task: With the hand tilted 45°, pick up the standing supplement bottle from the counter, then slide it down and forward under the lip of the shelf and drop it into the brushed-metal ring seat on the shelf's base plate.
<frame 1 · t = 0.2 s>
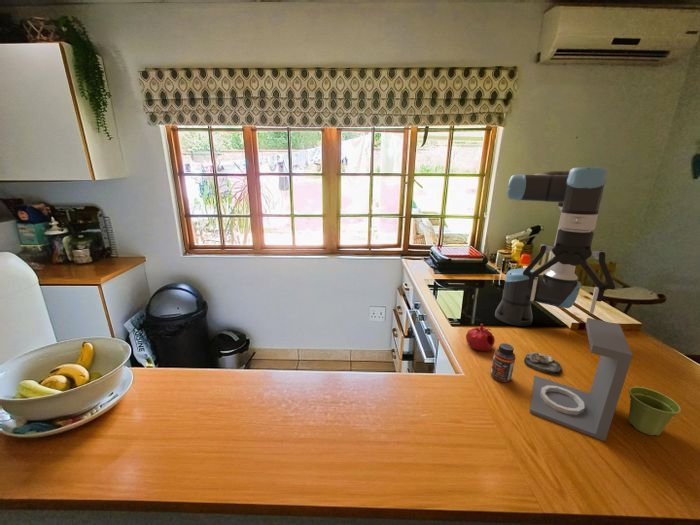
hand: (560, 305, 83), 28 cm above the counter, tool pointing down, fingers open, 13 cm apart
plant pot: (643, 427, 78), on the counter
pomegranate: (478, 347, 113), on the counter
seat stand: (564, 405, 84), on the counter
dark grey oval piece: (542, 366, 103), on the counter
supplement bottle: (500, 377, 96), on the counter
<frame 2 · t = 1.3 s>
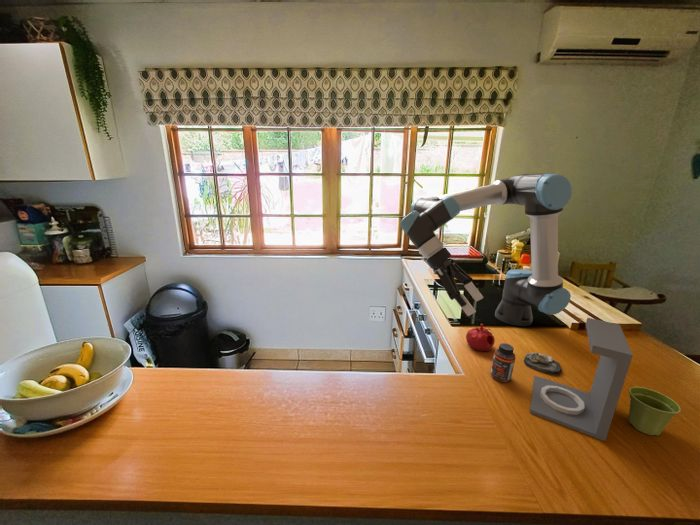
hand: (476, 306, 95), 22 cm above the counter, tool tilted 45°, fingers open, 13 cm apart
nothing on the counter moved.
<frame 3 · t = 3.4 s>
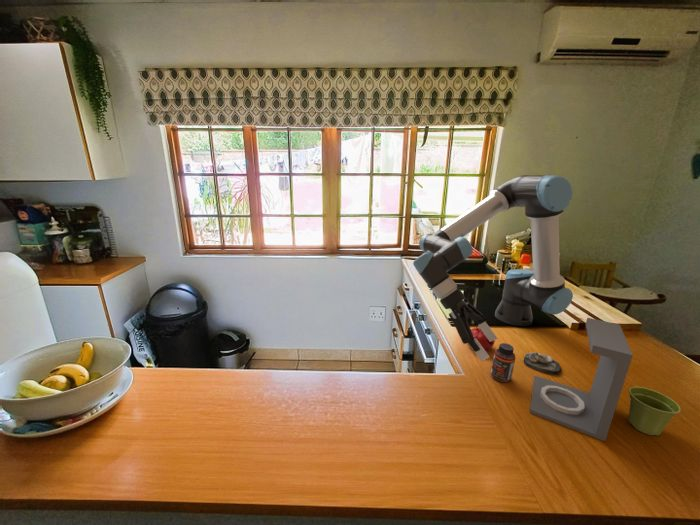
hand: (490, 348, 95), 9 cm above the counter, tool tilted 45°, fingers open, 13 cm apart
nothing on the counter moved.
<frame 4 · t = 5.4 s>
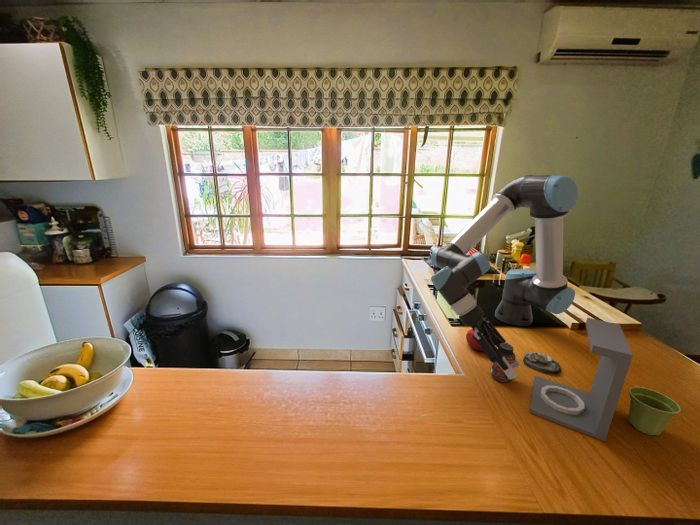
hand: (515, 371, 93), 4 cm above the counter, tool tilted 45°, fingers closed on supplement bottle, 6 cm apart
supplement bottle: (500, 377, 96), on the counter, touching gripper
everything else where it was.
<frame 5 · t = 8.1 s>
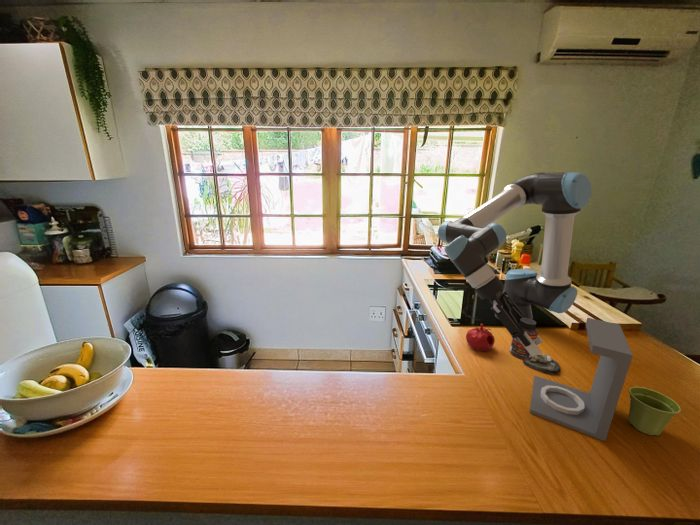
hand: (537, 348, 85), 15 cm above the counter, tool tilted 45°, fingers closed on supplement bottle, 6 cm apart
supplement bottle: (520, 356, 88), point 11 cm above the counter, touching gripper
everything else where it was.
when the fingers open (6 cm above the counter, at t = 10.9 s): supplement bottle drops 2 cm, resting on seat stand.
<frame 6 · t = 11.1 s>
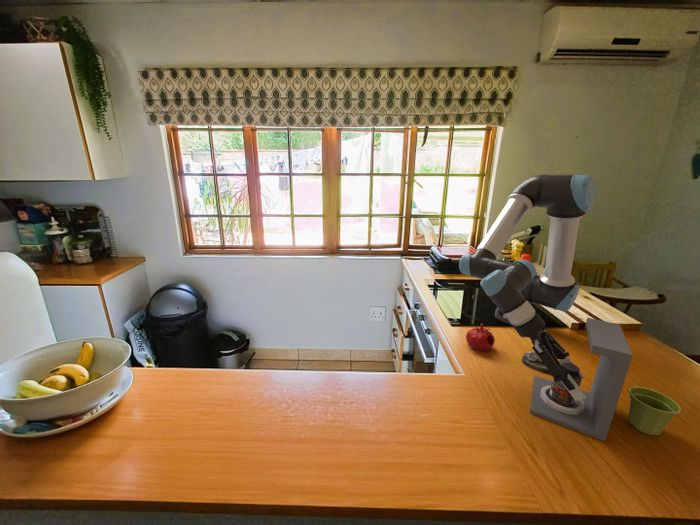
hand: (580, 388, 81), 7 cm above the counter, tool tilted 45°, fingers open, 9 cm apart
supplement bottle: (560, 400, 85), point 1 cm above the counter, touching seat stand
everything else where it was.
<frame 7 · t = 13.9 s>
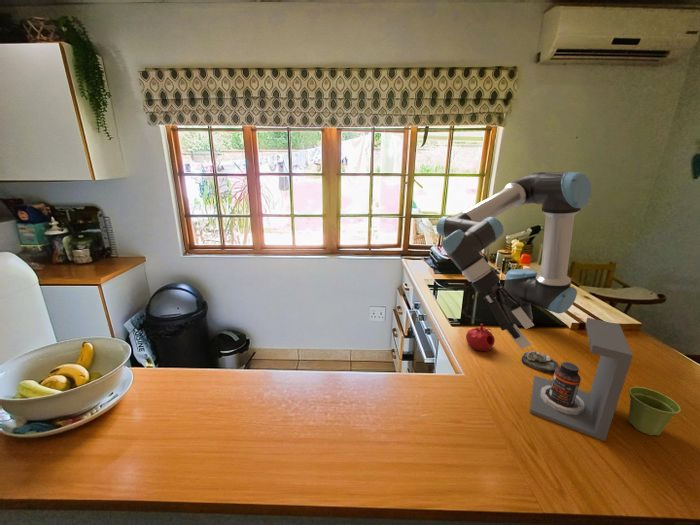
hand: (528, 336, 86), 18 cm above the counter, tool tilted 45°, fingers open, 13 cm apart
nothing on the counter moved.
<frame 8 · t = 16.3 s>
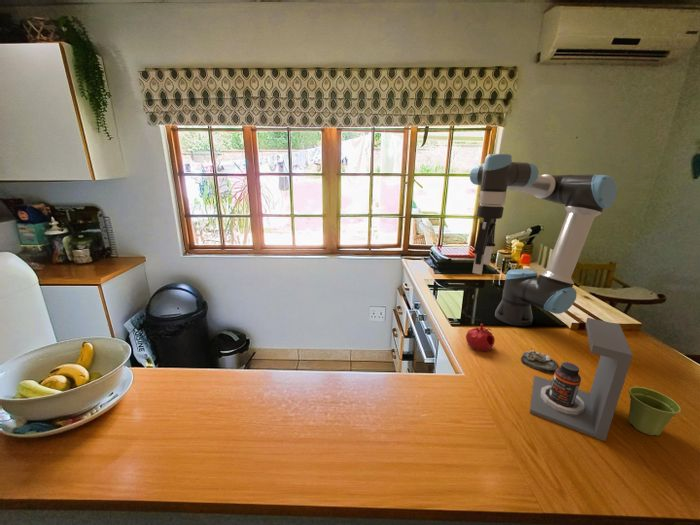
hand: (481, 268, 102), 32 cm above the counter, tool pointing down, fingers open, 13 cm apart
at the end: supplement bottle 0.2 cm from the target spot on the seat stand, point 0.8 cm above the seat stand's base; supplement bottle tilted 1°; the gripper is holding nothing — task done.
